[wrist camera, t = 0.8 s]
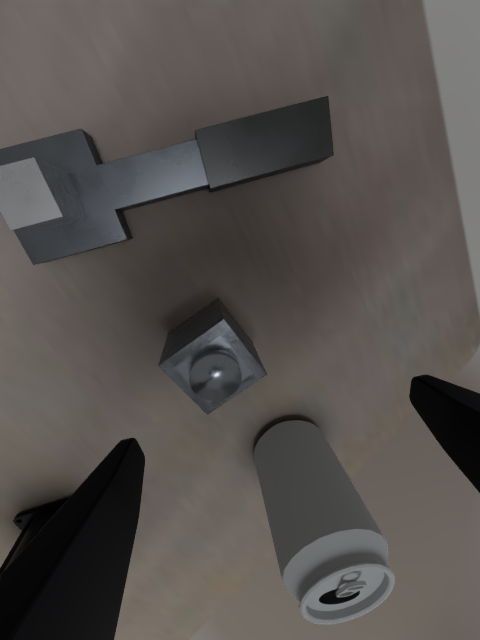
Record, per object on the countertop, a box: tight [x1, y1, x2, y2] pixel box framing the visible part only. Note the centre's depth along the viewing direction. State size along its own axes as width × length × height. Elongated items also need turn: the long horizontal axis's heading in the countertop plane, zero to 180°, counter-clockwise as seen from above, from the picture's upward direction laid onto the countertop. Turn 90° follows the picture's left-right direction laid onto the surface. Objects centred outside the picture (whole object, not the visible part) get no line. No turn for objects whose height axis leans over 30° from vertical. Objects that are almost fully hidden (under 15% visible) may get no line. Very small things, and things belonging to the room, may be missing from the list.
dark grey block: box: [158, 298, 267, 415], centre depth 18 cm, size 5×5×6 cm
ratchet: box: [0, 96, 334, 265], centre depth 14 cm, size 20×6×4 cm, turn 104°
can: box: [254, 420, 395, 625], centre depth 21 cm, size 8×8×12 cm
